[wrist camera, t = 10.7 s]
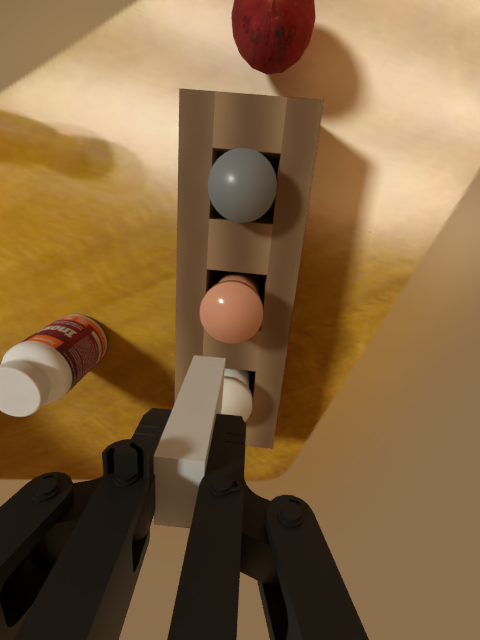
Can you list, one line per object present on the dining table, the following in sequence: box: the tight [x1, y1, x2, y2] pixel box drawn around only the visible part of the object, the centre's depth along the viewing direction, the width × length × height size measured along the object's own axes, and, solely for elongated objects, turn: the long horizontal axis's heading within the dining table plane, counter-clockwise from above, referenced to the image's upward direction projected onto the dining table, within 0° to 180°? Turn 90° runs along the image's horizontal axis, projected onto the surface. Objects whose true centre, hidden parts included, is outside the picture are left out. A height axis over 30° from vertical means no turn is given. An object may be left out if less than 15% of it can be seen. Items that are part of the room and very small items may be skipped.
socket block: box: [175, 89, 324, 449], centre depth 31 cm, size 10×30×6 cm, turn 175°
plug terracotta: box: [200, 271, 263, 343], centre depth 29 cm, size 5×5×8 cm
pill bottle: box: [0, 314, 107, 417], centre depth 32 cm, size 6×6×11 cm
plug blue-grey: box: [208, 148, 277, 223], centre depth 27 cm, size 5×5×8 cm
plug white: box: [221, 368, 252, 421], centre depth 33 cm, size 5×5×8 cm
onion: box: [232, 0, 315, 74], centre depth 23 cm, size 6×6×8 cm
